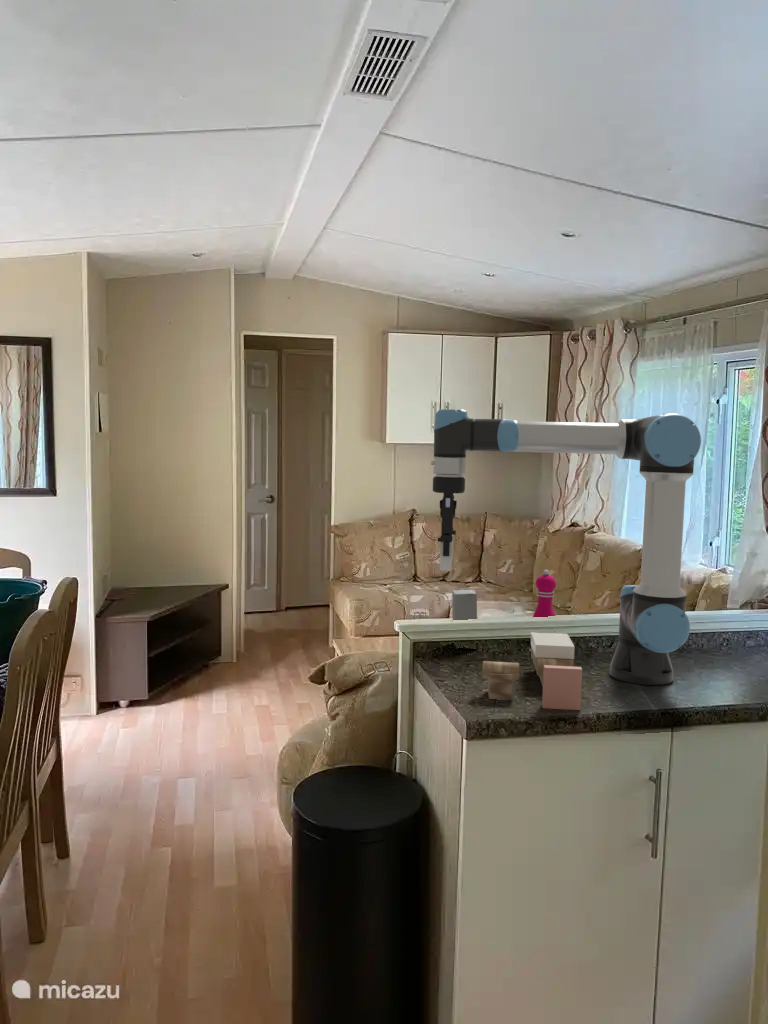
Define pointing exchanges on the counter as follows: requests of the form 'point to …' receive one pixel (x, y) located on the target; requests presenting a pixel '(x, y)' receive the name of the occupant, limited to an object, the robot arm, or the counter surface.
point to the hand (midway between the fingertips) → (446, 565)
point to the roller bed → (548, 663)
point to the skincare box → (464, 604)
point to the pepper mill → (545, 595)
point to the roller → (500, 669)
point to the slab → (552, 645)
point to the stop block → (562, 687)
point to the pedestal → (500, 686)
